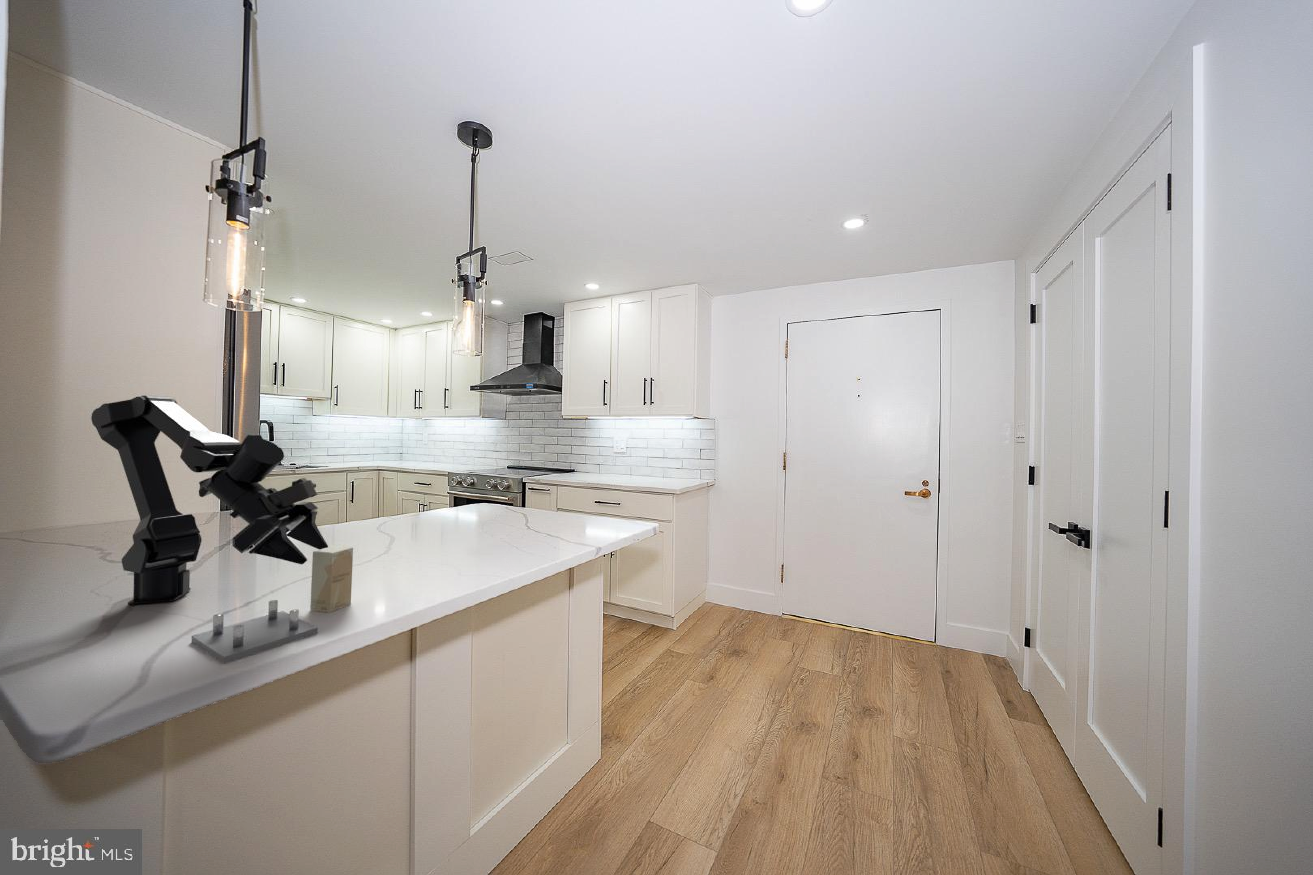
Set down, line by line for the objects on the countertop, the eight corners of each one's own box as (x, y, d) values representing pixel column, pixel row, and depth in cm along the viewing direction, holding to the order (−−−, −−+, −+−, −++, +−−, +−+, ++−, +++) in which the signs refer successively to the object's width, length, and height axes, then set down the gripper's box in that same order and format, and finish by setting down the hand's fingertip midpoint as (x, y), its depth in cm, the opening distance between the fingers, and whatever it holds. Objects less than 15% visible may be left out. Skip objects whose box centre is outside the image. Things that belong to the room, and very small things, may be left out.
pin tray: (224, 663, 67) (224, 636, 67) (191, 641, 73) (192, 616, 73) (317, 633, 78) (318, 609, 78) (282, 616, 84) (283, 594, 84)
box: (328, 613, 86) (330, 553, 86) (309, 610, 87) (310, 551, 86) (352, 603, 91) (354, 546, 91) (333, 600, 92) (335, 544, 92)
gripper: (256, 470, 77) (331, 535, 80) (307, 461, 95) (367, 515, 98) (196, 519, 75) (276, 583, 78) (260, 500, 93) (323, 553, 96)
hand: (316, 555), depth 88 cm, fingers open, 9 cm apart
